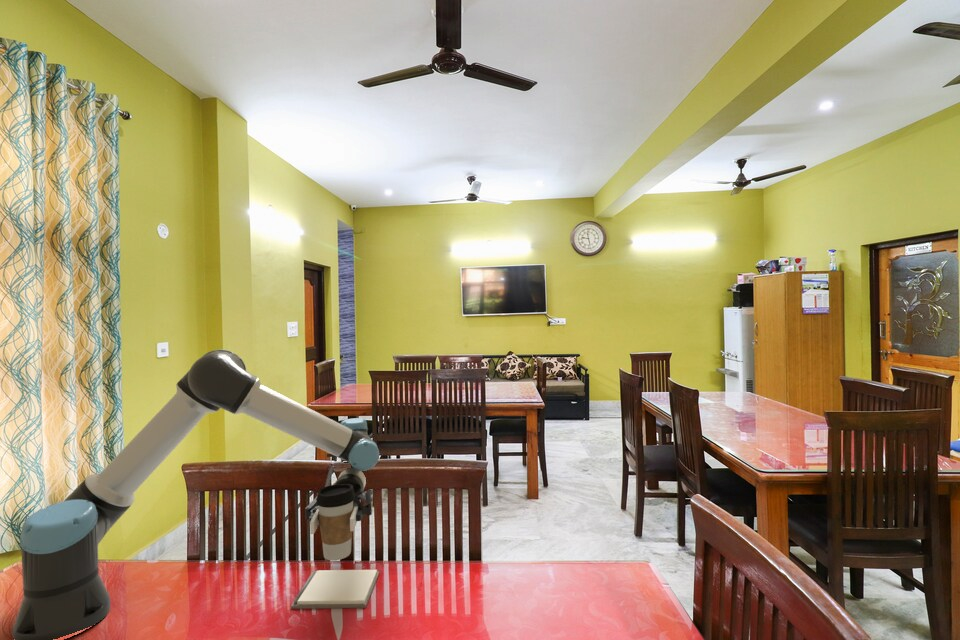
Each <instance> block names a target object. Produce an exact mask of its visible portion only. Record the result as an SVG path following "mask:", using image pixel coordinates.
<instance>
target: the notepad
mask: <svg viewBox="0 0 960 640" xmlns="http://www.w3.org/2000/svg"><path fill="white" fill-rule="evenodd" d="M379 575H380V571H378V569H333V570H332V569H328V570H327V569H326V570H325V569H324V570H321V569H319V570H316V571H315V570H314V571H312V572H311V574H310V575H309V577H308V578H307V580H306V581H305V583H304V584H303V586H302V587H301V589H300V591H299V592H298V593H297V595H296V596H295V598H294V600H293V602H292V604H291V605H290V609H291V610H293V609H295V610H297V609H303V610H304V609H366V608H367V605H368V603H369V601H370V599H371V596H372V593H373V590H374V589H375V586H376V584H375V583H377V581H378V579H377V578H379Z"/></svg>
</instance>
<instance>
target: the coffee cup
mask: <svg viewBox="0 0 960 640" xmlns="http://www.w3.org/2000/svg"><path fill="white" fill-rule="evenodd" d="M317 493H318V494H316V497H317V498H316V497H315V498H316V504H317V505H318V507H319V511H318V515H319V529H320V530H319V531H320V535H321V543H322V544H321V545H322V552H323V558H324V559H325V560H328V561H340V560H342V559H345V558H347V557H349V556H350V554H351V552H352V537H353V531H350V517H351V515H352V512H353V509H354V507H353V500H354V499H355V493H354V490H353V485H351V484H337V485H335V484H331V485H326V486H323V487H322V488H320V489H319V490H317Z"/></svg>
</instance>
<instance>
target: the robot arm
mask: <svg viewBox="0 0 960 640" xmlns="http://www.w3.org/2000/svg"><path fill="white" fill-rule="evenodd" d="M175 387H176V393H175V394H174V395H173V396H172V397H171V399H169V400H168V401H167V403H166V404H165V405H164V406H162V408H161V409H160V410H159V411H158V412H157V413H156V414H155V415H154V416H153V417H152V418H151V419H150V421H148V423H147V424H146V425H144V427H143V428H142V429H141V430H140V431H139V432H138V433H137V434H136V435H135V436H134V437H133V439H131V440H130V442H128V443H127V445H125V447H123V448H122V450H121V451H120V452H119V453H118V454H117V455H116V456H115V457H114V458H113V459H112V460H111V461H110V463H109V464H108V465H107V466H105V468H104V469H102V471H101V472H99V473H94V474H89V475H88V476H87V477H86V478H84V480H82V482H81V483H80V484H79V485H78V486H77V487H76V488H75V489H74V490H73V491H72V492H71V493H70V494H69V495H68V496H66V498H65V499H64V500H63V501H60V502H59V501H58V502H55V503H52V504H50V505H48V506H46V508H40V509H38V510H37V511H35V512H33V513H32V514H30V515H29V516H28V517H27V518H26V519H25V521H24V522H23V523H22V525H21V534H20V536H19V537H20V539H19V543H20V547H21V549H20V552H21V567H22V572H21V573H22V587H23V588H22V589H23V598H22V600H21V603H20V606H19V610H18V612H17V615H16V618H15V621H14V623H13V626H12V639H13V638H14V639H15V640H53V639H58V638H60V637H63V636H66V635H69V634H72V633H75V632H77V631H80V630H83V629H85V628H88V627H90V626H93V625H94V624H96V623H98V622H99V621H100V620H101V621H102V620H104V619H105V618H106V617H105V616H107V615H108V614H109V613H110V611H111V598H110V597H111V596H110V594H109V592H108V590H107V588H106V586H105V584H104V582H103V580H102V578H101V577H100V572H99V544H100V543H101V542H102V541H103V539H104V537H105V536H106V534H107V533H108V532H109V531H110V529H111V528H112V527H114V525H115V524H117V522H118V521H119V520H120V519H121V518H122V517H123V515H124V514H125V513H126V512H127V510H129V509H130V507H131V506H132V505H133V504H134V502H135V494H134V493H135V492H137V490H138V489H139V488H140V487H141V485H143V483H144V482H145V481H146V480H147V479H148V478H149V477H150V476H151V475H152V474H153V473H154V472H155V470H157V469H158V467H159V466H160V465H161V464H162V463H163V462H164V461H165V460H166V458H167V457H168V456H169V455H170V454H171V453H172V452H173V451H174V450H175V449H176V447H178V446H179V445H180V443H181V442H182V441H183V440H184V439H185V437H187V436H188V435H189V433H191V431H192V430H193V429H194V428H195V427H196V426H197V425H198V423H200V421H201V420H202V419H203V418H204V417H205V416H206V415H207V414H210V413H217V412H218V411H219V410H220V409H222V410H225V411H227V412H229V413H231V414H233V415H239V414H244V415H247V416H249V417H251V418H254V419H256V420H257V421H259V422H262V423H263V424H266V425H268V426H269V427H272V428H275V429H277V430H279V431H281V432H283V433H285V434H287V435H290V436H292V437H294V438H295V439H297V440H301V441H303V442H304V443H307V444H309V445H311V446H313V447H315V448H317V449H320V450H321V451H324V452H326V453H328V454H330V455H332V456H335V457H337V458H338V459H340V463H341V462H343V461H347V462H344V463H350V465H351V468H347V469H345V470H343V471H342V472H341V471H340V473H339V476H338V477H337V479H338V480H337V479H336V481H335V483H334V485H337V484H351V485H353V490H354V493H355V499H354V500H353V507H354V509H353V512H352V515H351V517H350V531H352V532H354V531H355V528H356V525H357V523H358V522H361V521H363V520H362V519H363V518H364V516H365V515H366V516H372V513H373V512H372V511H373V509H372V508H373V507H372V506H373V505H372V504H373V503H372V502H373V500H374V494H373V493H374V491H373V489H368V490H367V491H364V490H365V487H366V484H367V482H366V477H365V475H364V473H363V472H362V471H367V470H369V469H370V470H371V469H372V468H375V466H376V465H377V463H378V462H379V459H380V450H379V448H378V445H377V443H376V442H375V441H374V440H373V439H372V438H371V437H370V435H369V434H368V430H369V428H368V423H367V420H366V419H365V418H361V417H355V418H354V417H353V418H348V419H345V420H342V421H341V422H340V423H339V422H338V421H336V420H333V419H332V418H329V417H327V416H325V415H323V414H322V413H319V412H318V411H315V410H313V409H312V408H309V407H308V406H305V405H303V404H301V403H300V402H298V401H296V400H294V399H291V398H290V397H287V396H285V395H283V394H281V393H279V392H278V391H276V390H274V389H271V388H269V387H268V386H265V385H263V384H262V383H261V381H260V378H259V377H257V376H256V375H253V374H252V373H251V372H249V371H247V366H246V364H245V362H244V361H243V358H241V357H240V356H239V355H238V354H236V353H234V352H233V351H230V350H228V349H215V350H211V351H208V352H206V353H205V354H203V355H202V356H201V357H200V358H198V359H197V360H196V361H195V362H193V364H192V366H191V367H190V369H189V370H188V371H187V372H186V373H185V374H184V376H182V377H181V378H180V380H179V381H177V383H176V386H175ZM317 494H318V492H317ZM317 494H316V495H317ZM316 498H317V496H316V497H314V499H313V500H312V501H310V503H309V504H308V505H306V507H305V509H304V511H305V518H304V519H305V520H308V523H309V530H310V532H309V533H310V535H314V534H315V533H316V531H317V529H318V528H319V526H320V523H319V515H318V511H319V507H318V505H317V504H316ZM361 500H364V502H365V505H364V502H362V501H361ZM109 610H110V611H109ZM108 612H109V613H108ZM107 613H108V614H107ZM104 617H105V618H104ZM103 618H104V619H103ZM101 621H100V622H101ZM100 622H99V623H100ZM99 623H98V624H99ZM96 625H97V624H96ZM93 627H94V626H93Z"/></svg>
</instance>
